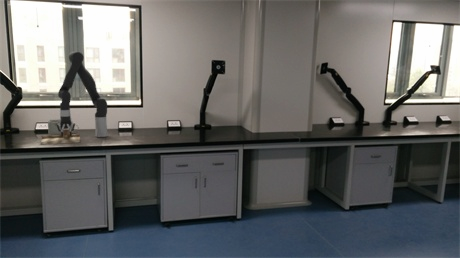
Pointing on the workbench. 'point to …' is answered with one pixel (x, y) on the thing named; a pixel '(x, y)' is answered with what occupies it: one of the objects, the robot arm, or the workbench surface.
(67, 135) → the brown boxy piece
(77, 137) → the maple board
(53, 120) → the geiger counter
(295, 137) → the workbench surface
